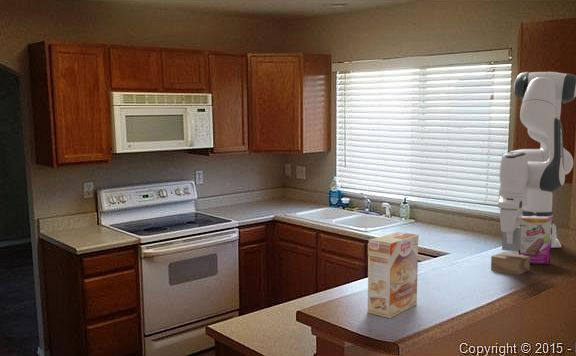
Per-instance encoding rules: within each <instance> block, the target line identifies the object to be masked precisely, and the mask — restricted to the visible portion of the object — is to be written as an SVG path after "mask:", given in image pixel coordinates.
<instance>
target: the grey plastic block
mask: <svg viewBox="0 0 576 356" xmlns="http://www.w3.org/2000/svg"><path fill="white" fill-rule="evenodd" d="M501 243H502V244H501V245H502V246H501V247H502V248H501V250H503V251H508V252H509V251H510V252H515V251H519V250H520V247H521V228H517V229H516V230H515V231H514V232H513V243H512V244H508V243H507V236H506V232H502V241H501Z"/></svg>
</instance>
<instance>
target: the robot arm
mask: <svg viewBox="0 0 576 356" xmlns="http://www.w3.org/2000/svg"><path fill="white" fill-rule="evenodd" d="M513 91H514V92H513V93H514V95H515V97H517V99H519V100H522V102H521V105H520V111H519V119H520V122H521V124H522V125H523V126H524V127H525V128H526V129H527V134H528V136H529V137H530V138H531V139H532V140H534V141H536V142H538V143H540V148H520V149H516V150H511V151H509V152H506V153H504V154H503V155H502V156H501V161H500V165H499V166H500V167H499V183H500V186H499V189H498V203H497V207H498V209H500V210H499V221H500V222H499V223H500V230H501V233H503V232H506V236H507V243H508V244H512V243H513V232H514V231H515V230H516V229H517V228H518V227H519V226H520V225H521V224H522V216H540V217H550V218H552V219H553V220H554V211H553V193H554V192H557V191H558V190H560V189H561V188H562V187H563V186H564V184H565V180H566V175H568V174H569V173H571V171H572V169H573V167H574V159H573V156H572V154H571V153H570V152H569V151H568V150H567V149H566V148H565V147H564V132H563V131H564V130H563V124H562V121H561V114H562V112H561V111H562V104H563V105H564V104H566V103H569V102H572V101H574V99H575V98H576V75H575V74H573V73H572V74H571V73H569V72H567V73H563V72H557V71H533V72H530V71H524V72H521V73H519V74H518V75H517V77H516V79H514V82H513ZM552 248H553V249H554V248H562V244H561V243H560V240H559V239H558V234H557V226H556V224H554V223H552V239H551V249H552Z"/></svg>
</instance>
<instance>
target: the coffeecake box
mask: <svg viewBox="0 0 576 356" xmlns="http://www.w3.org/2000/svg"><path fill="white" fill-rule="evenodd" d="M367 255H368V259H367V261H368V263H367V264H368V265H367V269H368V270H367V314H371V315H375V316H379V317H381V318H382V317H383V318H387V319H392V318H393V317H395V316H397V315H399V314H402V312H405V311H407V310H408V309H411V308H413V307H415V306H416V305H418V268H419V267H418V266H419V265H418V263H419V261H418V260H419V234H415V233H409V232H408V233H407V232H401V231H395V232H392V233H389V234H385V235H382V236H378V237H374V238H370V239H368V254H367Z"/></svg>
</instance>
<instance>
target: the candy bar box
mask: <svg viewBox="0 0 576 356" xmlns="http://www.w3.org/2000/svg"><path fill="white" fill-rule="evenodd" d="M553 220H554V218H553V219H552V218H550V217H540V216H522V224H521V225H520V226H519V227H518V228H521V247H520V250H519V251H514V254H518V255H524V256H530V264H531V265H535V264H536V265H550V264H551V254H552V253H551V252H552V248H551V239H552V223H553ZM553 224H554V223H553Z"/></svg>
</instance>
